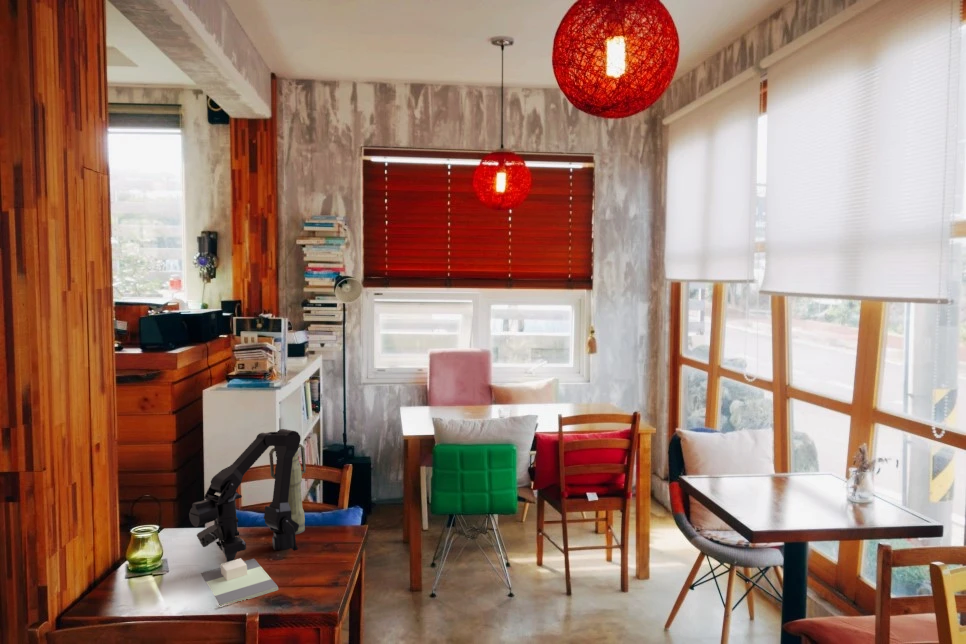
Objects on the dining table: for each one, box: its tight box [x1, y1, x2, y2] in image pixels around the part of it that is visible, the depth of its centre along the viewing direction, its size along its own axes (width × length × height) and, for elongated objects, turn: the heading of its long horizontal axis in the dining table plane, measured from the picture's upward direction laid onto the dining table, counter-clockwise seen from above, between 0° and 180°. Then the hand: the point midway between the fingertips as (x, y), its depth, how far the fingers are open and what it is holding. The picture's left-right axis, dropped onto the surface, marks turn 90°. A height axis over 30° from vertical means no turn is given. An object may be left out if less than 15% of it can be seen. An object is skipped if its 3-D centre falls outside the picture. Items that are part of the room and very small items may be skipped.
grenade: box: [268, 443, 307, 536], centre depth 237 cm, size 9×12×35 cm
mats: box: [200, 558, 279, 604], centre depth 200 cm, size 16×24×1 cm, turn 34°
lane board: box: [205, 565, 279, 607], centre depth 200 cm, size 16×24×1 cm, turn 34°
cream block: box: [220, 557, 248, 581], centre depth 204 cm, size 6×6×3 cm
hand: (229, 565), depth 207 cm, fingers closed
